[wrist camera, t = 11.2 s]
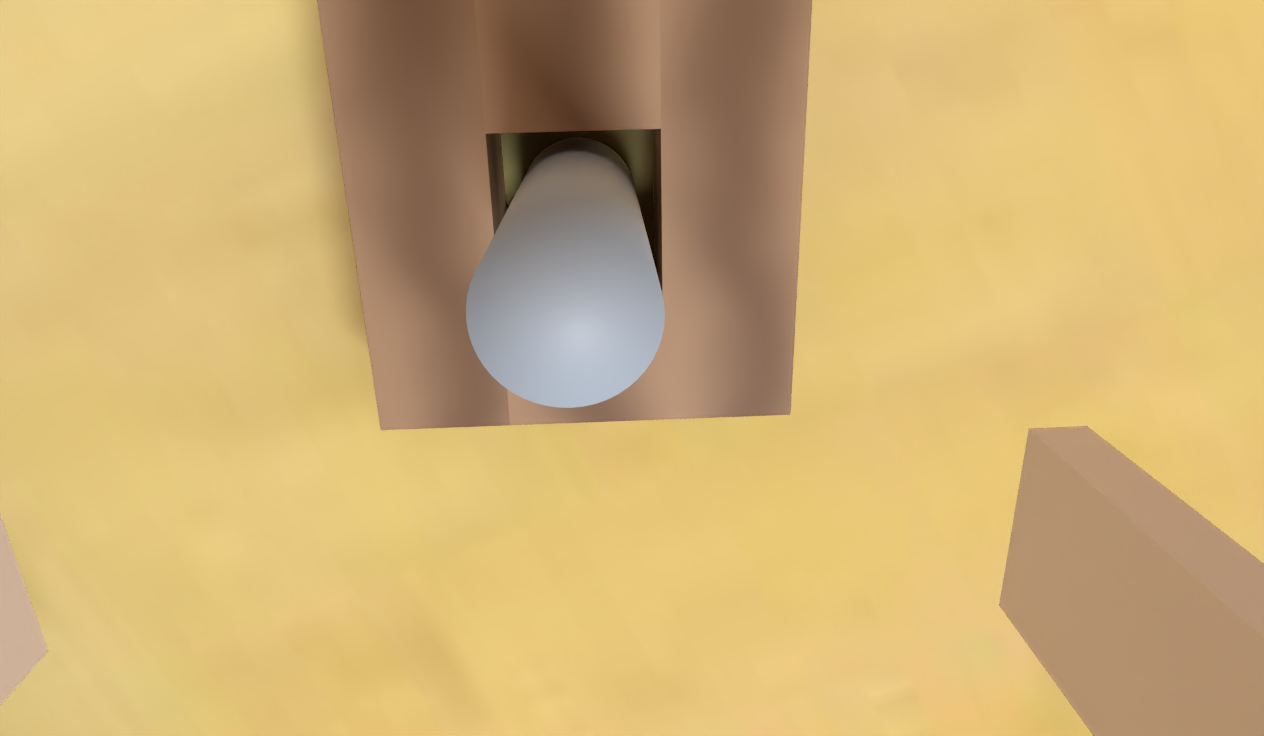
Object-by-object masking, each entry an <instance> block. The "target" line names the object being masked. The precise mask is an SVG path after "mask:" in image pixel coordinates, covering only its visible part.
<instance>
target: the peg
mask: <svg viewBox="0 0 1264 736" xmlns="http://www.w3.org/2000/svg"><path fill="white" fill-rule="evenodd" d="M664 320H665V309H664V300H663V295H662V291H661V287H660V283H659V279H658V275H657V271H656V267H655V264H654V260H653V256H652V252H651V248H650V245H649V241H648V237H647V233H646V229H645V225H644V222H643V218H642V214H641V210H640V206H639V202H638V199H637V195H636V191H635V187H634V183H633V180H632V177H631V174H630V171H629V169H628V167H627V165H626V164H625V162H624V161H623V160H622V158H621V157H620V156H619V155H618V154H617V153H616V152H615V151H614V150H612V149H611V148H610V147H608V146H606V145H605V144H603V143H601V142H598V141H595V140H592V139H587V138H568V139H564V140H561V141H558V142H555V143H554V144H552V145H550V146H548V147H547V148H545V149H544V150H543V151H542V152H541V153H540V154H539V155H538V156H537V157H536V158H535V159H534V161H533V162H532V164H531V166H530V167H529V169H528V171H527V173H526V175H525V177H524V179H523V181H522V183H521V184H520V186H519V188H518V190H517V192H516V194H515V196H514V198H513V200H512V202H511V204H510V206H509V208H508V209H507V211H506V213H505V215H504V217H503V219H502V221H501V223H500V225H499V227H498V229H497V231H496V233H495V234H494V236H493V238H492V240H491V242H490V244H489V246H488V248H487V250H486V252H485V254H484V256H483V258H482V259H481V261H480V263H479V265H478V267H477V269H476V271H475V273H474V276H473V278H472V281H471V283H470V287H469V291H468V294H467V302H466V322H467V328H468V334H469V337H470V340H471V343H472V346H473V348H474V350H475V352H476V354H477V356H478V358H479V360H480V361H481V363H482V364H483V366H484V367H485V368H486V370H487V371H488V372H489V373H490V374H491V376H492V377H493V378H495V379H496V380H497V381H498V382H499V383H500V384H501V385H502V386H504V387H505V388H507V389H508V390H509V391H511V392H512V393H514V394H516V395H518V396H520V397H521V398H524V399H526V400H529V401H531V402H534V403H537V404H541V405H545V406H551V407H558V408H574V407H584V406H588V405H593V404H597V403H599V402H602V401H605V400H608V399H610V398H612V397H614V396H616V395H618V394H619V393H621V392H622V391H624V390H625V389H627V388H628V387H629V386H631V385H632V384H633V383H634V382H635V381H636V380H637V379H638V378H639V377H640V376H641V375H642V374H643V373H644V372H645V371H646V369H647V368H648V366H649V365H650V363H651V362H652V360H653V358H654V356H655V354H656V352H657V350H658V348H659V345H660V342H661V339H662V334H663V329H664Z"/></svg>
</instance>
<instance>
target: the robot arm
mask: <svg viewBox="0 0 1264 736" xmlns="http://www.w3.org/2000/svg"><path fill="white" fill-rule="evenodd" d="M999 606H1000V607H1001V608H1002V610H1003V611H1004V612H1005V614H1006V615H1007V617H1008V618H1009V619H1010V621H1011V622H1012V624H1013V625H1014V626H1015V628H1016V629H1017V631H1018V632H1019V633H1020V635H1021V636H1022V637H1023V639H1024V640H1025V642H1026V643H1027V644H1028V646H1029V647H1030V649H1031V650H1032V651H1033V653H1034V654H1035V655H1036V657H1037V658H1038V660H1039V661H1040V662H1041V664H1042V665H1043V667H1044V668H1045V669H1046V671H1047V672H1048V673H1049V675H1050V676H1051V678H1052V679H1053V680H1054V682H1055V683H1056V685H1057V686H1058V687H1059V689H1060V690H1061V691H1062V693H1063V694H1064V696H1065V697H1066V698H1067V700H1068V701H1069V703H1070V704H1071V705H1072V707H1073V708H1074V709H1075V711H1076V712H1077V714H1078V715H1079V716H1080V718H1081V719H1082V721H1083V722H1084V723H1085V725H1086V726H1087V728H1088V729H1089V730H1090V732H1091V733H1092V734H1093V736H1264V563H1262V562H1261V561H1260V560H1258V559H1257V558H1256V557H1255V556H1253V555H1252V554H1251V553H1249V552H1248V551H1247V550H1246V549H1244V548H1243V547H1242V546H1240V545H1239V544H1238V543H1237V542H1235V541H1234V540H1233V539H1231V538H1230V537H1229V536H1228V535H1226V534H1225V533H1224V532H1222V531H1221V530H1220V529H1219V528H1217V527H1216V526H1215V525H1213V524H1212V523H1211V522H1210V521H1208V520H1207V519H1206V518H1204V517H1203V516H1202V515H1201V514H1199V513H1198V512H1197V511H1195V510H1194V509H1193V508H1192V507H1190V506H1189V505H1188V504H1186V503H1185V502H1184V501H1183V500H1181V499H1180V498H1179V497H1177V496H1176V495H1175V494H1174V493H1172V492H1171V491H1170V490H1168V489H1167V488H1166V487H1165V486H1163V485H1162V484H1161V483H1159V482H1158V481H1157V480H1156V479H1154V478H1153V477H1152V476H1150V475H1149V474H1148V473H1147V472H1145V471H1144V470H1143V469H1141V468H1140V467H1139V466H1138V465H1136V464H1135V463H1134V462H1133V461H1131V460H1130V459H1129V458H1127V457H1126V456H1125V455H1124V454H1122V453H1121V452H1120V451H1118V450H1117V449H1116V448H1115V447H1113V446H1112V445H1111V444H1109V443H1108V442H1107V441H1106V440H1104V439H1103V438H1102V437H1100V436H1099V435H1098V434H1097V433H1095V432H1094V431H1093V430H1091V429H1090V428H1089V427H1088V426H1080V427H1056V428H1031V429H1029V431H1028V437H1027V443H1026V449H1025V454H1024V460H1023V466H1022V472H1021V478H1020V484H1019V490H1018V496H1017V502H1016V508H1015V514H1014V520H1013V526H1012V532H1011V538H1010V544H1009V550H1008V556H1007V562H1006V568H1005V574H1004V580H1003V586H1002V592H1001V597H1000V603H999ZM47 652H48V649H47V646H46V643H45V641H44V638H43V635H42V632H41V629H40V626H39V623H38V621H37V618H36V615H35V612H34V609H33V606H32V603H31V601H30V598H29V595H28V592H27V589H26V586H25V583H24V580H23V578H22V575H21V572H20V569H19V566H18V563H17V560H16V558H15V555H14V552H13V549H12V546H11V543H10V540H9V538H8V535H7V532H6V529H5V526H4V523H3V520H2V518H1V515H0V705H1V704H2V703H3V702H4V701H5V699H6V698H7V697H8V696H9V695H10V694H11V693H12V692H13V690H14V689H15V688H16V687H17V686H18V685H19V684H20V683H21V681H22V680H23V679H24V678H25V677H26V676H27V675H28V674H29V672H30V671H31V670H32V669H33V668H34V667H35V666H36V665H37V663H38V662H39V661H40V660H41V659H42V658H43V657H44V656H45V654H46V653H47Z"/></svg>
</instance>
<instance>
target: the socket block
mask: <svg viewBox="0 0 1264 736" xmlns="http://www.w3.org/2000/svg"><path fill="white" fill-rule="evenodd" d="M317 3H318V9H319V16H320V23H321V30H322V36H323V43H324V50H325V57H326V63H327V70H328V77H329V84H330V90H331V97H332V104H333V111H334V117H335V124H336V131H337V138H338V144H339V151H340V158H341V165H342V171H343V178H344V185H345V192H346V198H347V205H348V212H349V219H350V225H351V232H352V239H353V246H354V253H355V259H356V266H357V273H358V280H359V286H360V293H361V300H362V307H363V313H364V320H365V327H366V334H367V340H368V347H369V354H370V361H371V367H372V374H373V381H374V388H375V394H376V401H377V408H378V415H379V421H380V428H381V430H395V429H421V428H448V427H474V426H501V425H527V424H554V423H580V422H607V421H634V420H660V419H687V418H713V417H740V416H766V415H790V412H791V393H792V374H793V355H794V336H795V317H796V298H797V279H798V260H799V241H800V222H801V203H802V183H803V164H804V145H805V126H806V107H807V88H808V69H809V50H810V31H811V12H812V0H317ZM634 129H653V187H654V264H655V267H656V271H657V275H658V279H659V283H660V287H661V291H662V295H663V300H664V309H665V320H664V329H663V334H662V339H661V342H660V345H659V348H658V350H657V352H656V354H655V356H654V358H653V360H652V362H651V363H650V365H649V366H648V368H647V369H646V371H645V372H644V373H643V374H642V375H641V376H640V377H639V378H638V379H637V380H636V381H635V382H634V383H633V384H632V385H631V386H629V387H628V388H627V389H625V390H624V391H622V392H621V393H619V394H618V395H616V396H614V397H612V398H610V399H608V400H605V401H602V402H599V403H597V404H593V405H588V406H584V407H574V408H558V407H551V406H545V405H541V404H537V403H534V402H531V401H529V400H526V399H524V398H521V397H520V396H518V395H516V394H514V393H512V392H511V391H509V390H508V389H507V388H505V387H504V386H502V385H501V384H500V383H499V382H498V381H497V380H496V379H495V378H493V377H492V376H491V374H490V373H489V372H488V371H487V370H486V368H485V367H484V366H483V364H482V363H481V361H480V360H479V358H478V356H477V354H476V352H475V350H474V348H473V346H472V343H471V340H470V337H469V334H468V328H467V322H466V302H467V294H468V291H469V287H470V283H471V281H472V278H473V276H474V273H475V271H476V269H477V267H478V265H479V263H480V261H481V259H482V258H483V256H484V254H485V252H486V250H487V248H488V246H489V244H490V242H491V240H492V238H493V236H494V234H495V233H496V231H497V229H498V227H499V225H500V223H501V221H502V219H503V217H504V215H505V213H506V211H507V210H506V197H505V184H504V171H503V159H502V146H501V133H524V132H561V131H598V130H634Z"/></svg>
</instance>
